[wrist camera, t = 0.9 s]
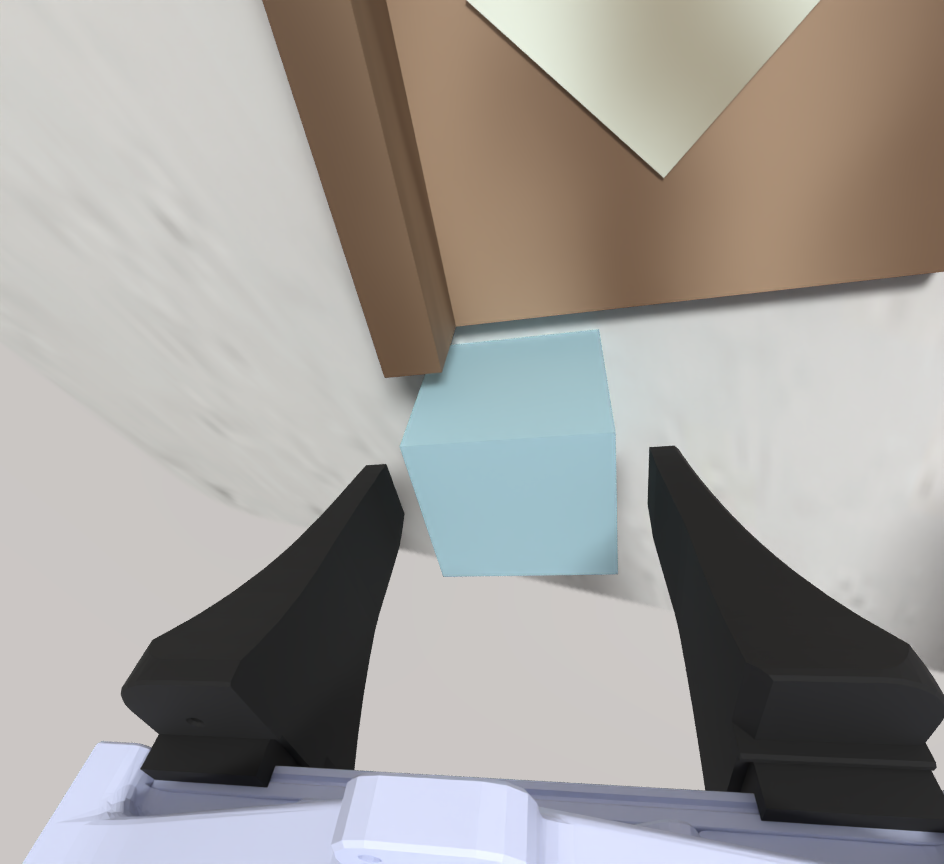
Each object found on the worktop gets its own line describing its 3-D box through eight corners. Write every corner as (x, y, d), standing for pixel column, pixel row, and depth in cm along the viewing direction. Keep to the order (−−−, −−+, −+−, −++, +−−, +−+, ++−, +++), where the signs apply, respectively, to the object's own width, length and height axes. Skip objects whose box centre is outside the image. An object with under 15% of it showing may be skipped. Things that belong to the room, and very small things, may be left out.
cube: (598, 328, 15) (615, 432, 11) (603, 457, 18) (617, 574, 14) (435, 345, 16) (399, 446, 12) (464, 464, 19) (443, 576, 15)
